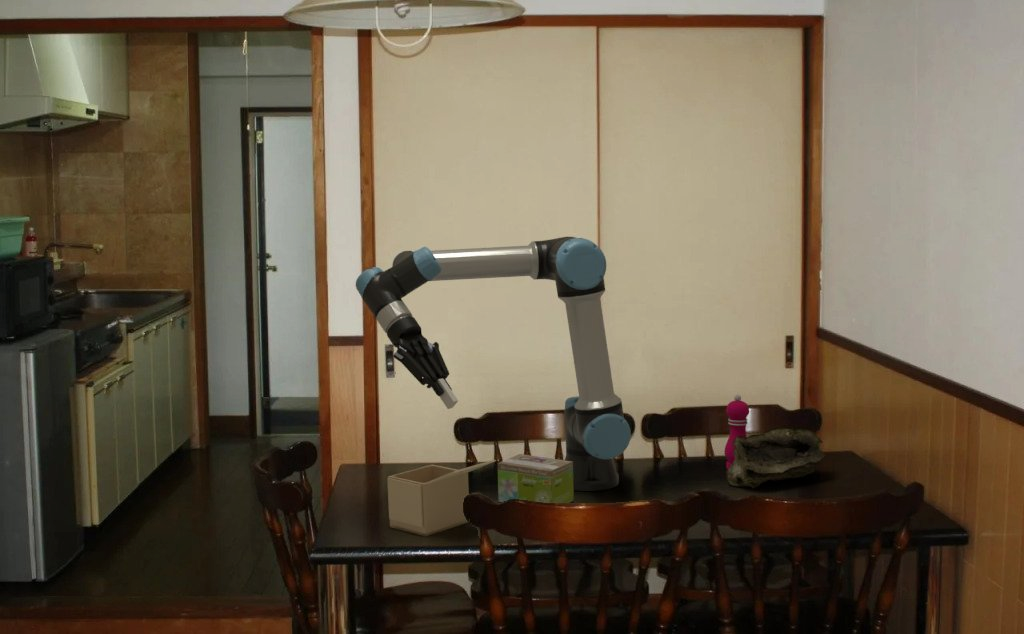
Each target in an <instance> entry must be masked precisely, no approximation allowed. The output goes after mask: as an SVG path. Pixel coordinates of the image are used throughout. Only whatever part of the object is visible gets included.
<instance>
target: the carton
mask: <svg viewBox="0 0 1024 634" xmlns="http://www.w3.org/2000/svg"><path fill="white" fill-rule="evenodd" d="M456 470H458V469H456V468H451V467H446V466H442V465H436V464H428V465H424V466H421V467H418V468H415V469H410V470H407V471H402V472H399V473H396V474H392V475H389V476H387V480H386V481H387V497H388V498H387V499H388V503H387V505H388V519H389V528H392V529H395V530H399V531H403V532H407V533H412V534H413V535H418V536H422V537H428V536H431V535H434V534H437V533H440V532H443V531H447V530H449V529H453V528H455V527H459V526H461V525H464V524H467V523H469V522H468V521H467V520H466V518H465V516H464V513H463V502H464V498H465V497H466V496H467V495H470V491H469V490H470V489H469V472H468V473H464V474H461V475H457V476H454V477H450V478H447V479H443V480H440V481H437V482H433V483H430V484H426V482H429V481H431V480H434V479H436V478H439V477H441V476H443V475H446V474H448V473H451V472H453V471H456Z"/></svg>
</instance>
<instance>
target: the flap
mask: <svg viewBox="0 0 1024 634" xmlns="http://www.w3.org/2000/svg"><path fill="white" fill-rule="evenodd" d="M494 462H497V461H496V459H492V460H489V461H486V462H481V463H478V464H475V465H474V464H473V465H470V466H468V467H463V468H461V469H457V470H456V471H453V472H451V473H448V474H446V475H443V476H441V477H439V478H436V479H434V480H431V481H429V482H426V484H430V483H433V482H437V481H440V480H443V479H447V478H450V477H454V476H457V475H461V474H464V473H468V474H469V473H470V472H473V471H475V470H479V469H481V468H482V467H485V466H488V465H490V464H493V463H494Z"/></svg>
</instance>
